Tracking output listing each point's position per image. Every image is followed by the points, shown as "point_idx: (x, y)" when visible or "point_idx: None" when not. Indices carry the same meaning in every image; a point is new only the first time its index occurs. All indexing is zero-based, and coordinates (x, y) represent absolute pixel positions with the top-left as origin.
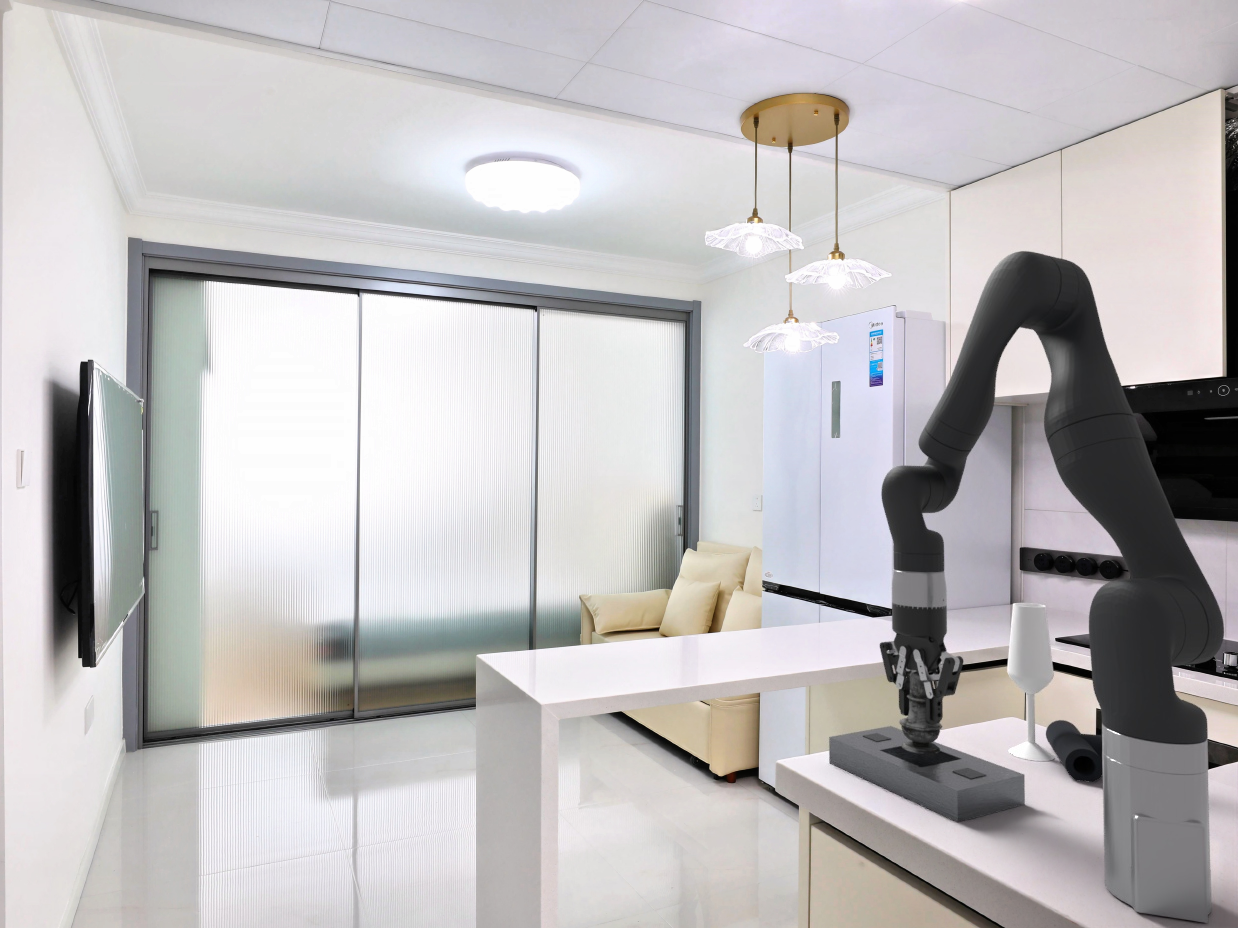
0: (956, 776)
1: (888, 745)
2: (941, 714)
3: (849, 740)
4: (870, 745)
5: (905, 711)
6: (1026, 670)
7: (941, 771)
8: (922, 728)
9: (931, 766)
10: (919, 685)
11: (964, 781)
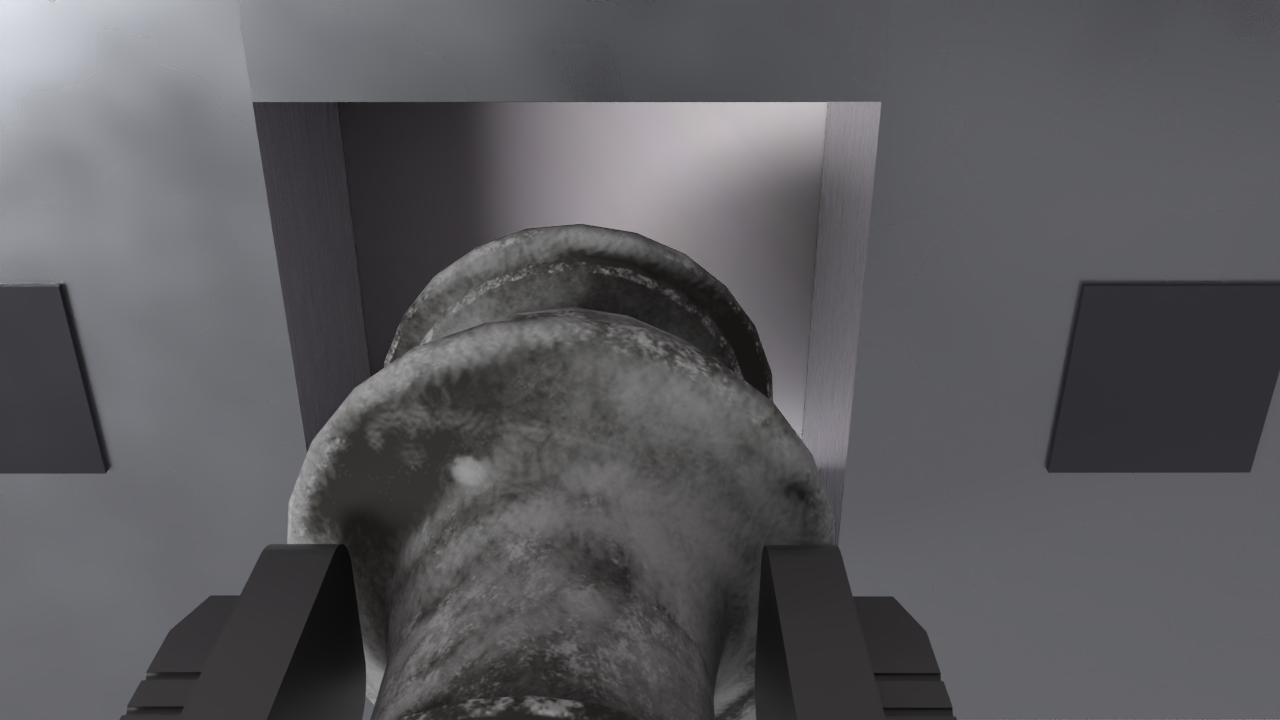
0: (1130, 519)
1: (241, 448)
2: (929, 674)
3: (9, 641)
4: (190, 581)
5: (349, 714)
6: None
7: (985, 539)
8: (746, 705)
9: (859, 523)
10: None
11: (1235, 549)
